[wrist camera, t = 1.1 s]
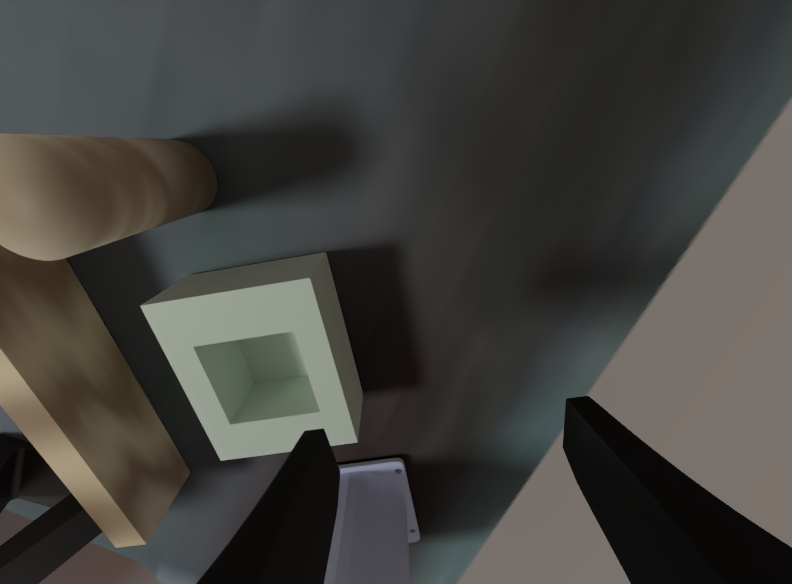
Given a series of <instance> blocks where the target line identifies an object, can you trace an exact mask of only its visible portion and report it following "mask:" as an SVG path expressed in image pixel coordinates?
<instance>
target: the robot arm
mask: <svg viewBox="0 0 792 584" xmlns="http://www.w3.org/2000/svg"><path fill="white" fill-rule="evenodd" d="M563 449H564V451H565V454H566V456H567V459H568V462H569V464H570V466H571V469H572V471H573V474H574V476H575V479H576V481H577V483H578V485H579V487H580V489H581V491H582V493H583V495H584V497H585V498H586V500H587V502H588V504H589V506H590V508H591V510H592V512H593V514H594V516H595V517H596V519H597V521H598V523H599V525H600V527H601V528H602V530H603V532H604V534H605V536H606V538H607V540H608V542H609V543H610V545H611V547H612V549H613V551H614V553H615V554H616V556H617V558H618V560H619V562H620V564H621V566H622V567H623V569H624V571H625V573H626V575H627V577H628V579H629V581H630V583H631V584H792V548H791V547H790V546H788V545H787V544H785V543H784V542H782V541H780V540H779V539H777V538H776V537H774V536H773V535H771V534H770V533H768V532H767V531H765V530H764V529H762V528H761V527H759V526H758V525H756V524H755V523H753V522H752V521H750V520H749V519H747V518H746V517H744V516H743V515H741V514H740V513H738V512H737V511H735V510H734V509H732V508H731V507H730V506H728V505H727V504H725V503H724V502H722V501H721V500H720V499H718V498H717V497H715V496H714V495H712V494H711V493H710V492H709V491H707V490H706V489H704V488H703V487H702V486H700V485H699V484H698V483H696V482H695V481H693V480H692V479H691V478H689V477H688V476H687V475H685V474H684V473H683V472H681V471H680V470H679V469H677V468H676V467H675V466H674V465H672V464H671V463H670V462H668V461H667V460H666V459H665V458H663V457H662V456H661V455H660V454H658V453H657V452H656V451H654V450H653V449H652V448H651V447H649V446H648V445H647V444H646V443H644V442H643V441H642V440H641V439H639V438H638V437H637V436H636V435H634V434H633V433H632V432H631V431H630V430H628V429H627V428H626V427H625V426H624V425H622V424H621V423H620V422H619V421H618V420H616V419H615V418H614V417H613V416H612V415H610V414H609V413H608V412H607V411H606V410H605V409H603V408H602V407H601V406H600V405H599V404H597V403H596V402H595V401H594V400H593V399H591V398H590V397H589V396H584V397H576V398H568V399H566V409H565V423H564V439H563ZM419 540H420V532H419V528H418V523H417V519H416V515H415V510H414V506H413V501H412V497H411V492H410V488H409V483H408V479H407V474H406V470H405V465H404V461H403V460H402V459H401V458H389V459H382V460H374V461H367V462H359V463H352V464H344V465H338V464H337V462H336V459H335V456H334V454H333V451H332V448H331V446H330V443H329V441H328V438H327V435H326V433H325V430H324V428H323V429H315V430H307V431H304V432H303V434H302V435H301V437H300V438H299V440H298V441H297V443H296V445H295V446H294V448H293V449H292V451H291V453H290V454H289V456H288V457H287V459H286V460H285V462H284V464H283V465H282V467H281V468H280V470H279V471H278V473H277V474H276V476H275V478H274V479H273V481H272V482H271V484H270V485H269V487H268V488H267V490H266V491H265V492H264V494H263V495H262V497H261V498H260V500H259V501H258V503H257V504H256V506H255V507H254V509H253V510H252V511H251V513H250V514H249V516H248V517H247V518H246V520H245V521H244V523H243V524H242V525H241V527H240V528H239V529H238V531H237V532H236V534H235V535H234V536H233V538H232V539H231V540H230V542H229V543H228V544H227V546H226V547H225V548H224V550H223V551H222V552H221V553H220V555H219V556H218V557H217V559H216V560H215V561H214V562H213V564H212V565H211V566H210V567H209V569H208V570H207V571H206V572H205V574H204V575H203V576H202V577H201V578H200V580H199V581H198V582H197V583H196V584H410V573H409V548H408V543H412V542H417V541H419Z"/></svg>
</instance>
